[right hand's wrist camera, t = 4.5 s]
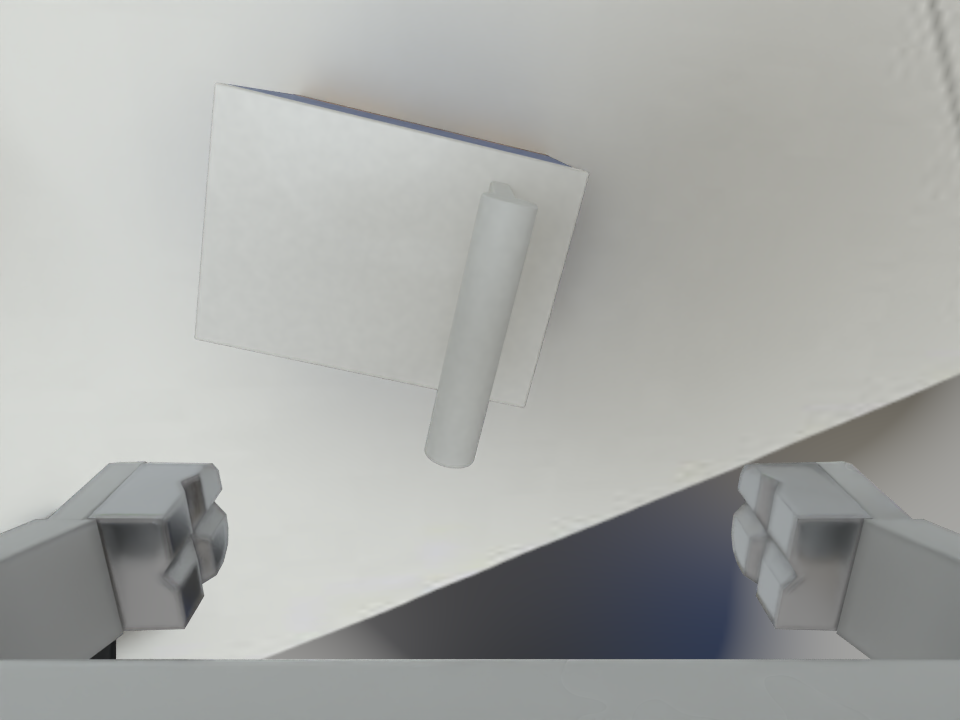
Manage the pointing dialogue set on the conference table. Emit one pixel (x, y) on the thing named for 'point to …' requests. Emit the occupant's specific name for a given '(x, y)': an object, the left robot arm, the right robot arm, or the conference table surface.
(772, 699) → the right robot arm
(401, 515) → the conference table surface
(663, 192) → the conference table surface
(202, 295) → the lid
